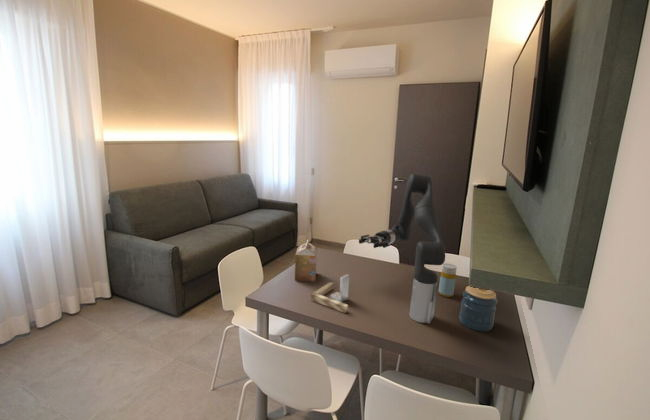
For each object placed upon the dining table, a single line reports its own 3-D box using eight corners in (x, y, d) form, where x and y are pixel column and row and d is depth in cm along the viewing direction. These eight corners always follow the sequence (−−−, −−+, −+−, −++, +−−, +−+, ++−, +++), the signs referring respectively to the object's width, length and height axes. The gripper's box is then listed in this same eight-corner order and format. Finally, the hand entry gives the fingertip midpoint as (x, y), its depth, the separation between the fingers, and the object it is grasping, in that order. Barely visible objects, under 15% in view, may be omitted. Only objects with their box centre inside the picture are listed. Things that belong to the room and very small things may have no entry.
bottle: (437, 295, 152) (441, 266, 149) (439, 289, 158) (443, 262, 155) (452, 299, 149) (456, 269, 146) (454, 293, 155) (458, 265, 152)
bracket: (347, 299, 144) (349, 274, 142) (340, 302, 141) (342, 278, 138) (337, 293, 149) (338, 270, 146) (330, 297, 145) (331, 273, 142)
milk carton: (315, 281, 161) (316, 246, 157) (294, 280, 161) (295, 245, 157) (316, 273, 171) (317, 240, 167) (296, 271, 171) (297, 238, 167)
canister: (497, 334, 122) (505, 293, 119) (462, 329, 125) (468, 288, 121) (487, 317, 135) (494, 279, 131) (455, 312, 137) (461, 275, 133)
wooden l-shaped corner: (362, 298, 145) (362, 292, 145) (345, 313, 132) (345, 306, 131) (329, 287, 155) (329, 281, 154) (310, 300, 142) (311, 294, 141)
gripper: (374, 228, 164) (355, 232, 152) (397, 233, 155) (380, 239, 143) (372, 241, 166) (354, 247, 154) (396, 248, 156) (378, 255, 145)
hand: (366, 243), depth 149 cm, fingers open, 8 cm apart
